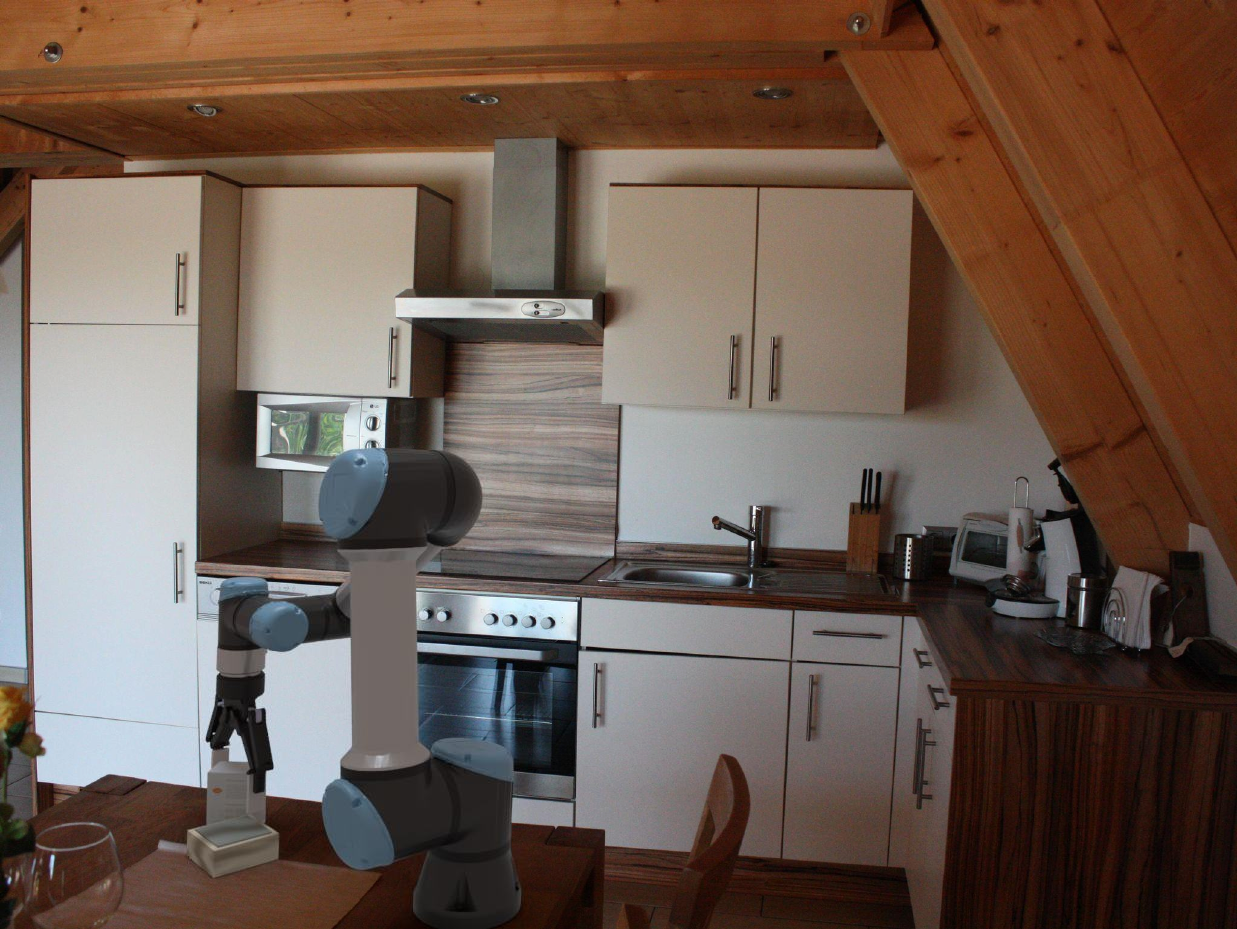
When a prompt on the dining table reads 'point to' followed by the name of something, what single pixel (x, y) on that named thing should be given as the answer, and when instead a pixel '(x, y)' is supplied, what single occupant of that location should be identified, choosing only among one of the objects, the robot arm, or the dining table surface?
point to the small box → (229, 792)
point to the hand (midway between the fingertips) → (236, 799)
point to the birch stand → (232, 845)
